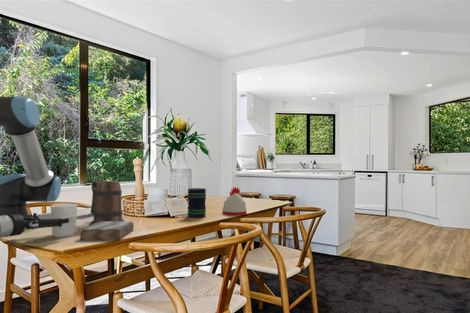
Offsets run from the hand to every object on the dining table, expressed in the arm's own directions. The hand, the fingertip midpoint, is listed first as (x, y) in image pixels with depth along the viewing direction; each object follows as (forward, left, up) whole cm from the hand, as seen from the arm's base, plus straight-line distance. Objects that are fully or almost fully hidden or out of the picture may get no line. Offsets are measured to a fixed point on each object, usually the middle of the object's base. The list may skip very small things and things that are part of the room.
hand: (63, 217), depth 141 cm
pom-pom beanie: (+69, +61, -7) cm, 93 cm away
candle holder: (0, 0, -7) cm, 7 cm away
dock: (+18, 0, -7) cm, 19 cm away
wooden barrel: (-6, +56, -7) cm, 57 cm away
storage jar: (+49, +48, -7) cm, 69 cm away
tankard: (+8, +25, -7) cm, 28 cm away
